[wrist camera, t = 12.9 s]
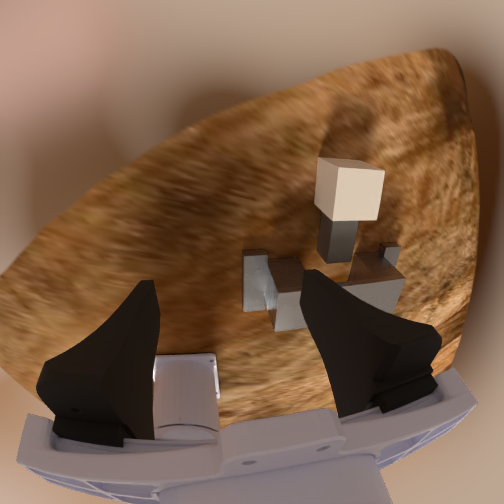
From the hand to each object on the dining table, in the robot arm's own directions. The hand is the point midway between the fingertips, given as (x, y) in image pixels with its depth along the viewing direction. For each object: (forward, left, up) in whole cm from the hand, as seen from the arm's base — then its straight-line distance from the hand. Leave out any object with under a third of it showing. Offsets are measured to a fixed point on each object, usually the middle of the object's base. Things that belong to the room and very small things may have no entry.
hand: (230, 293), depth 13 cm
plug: (0, -10, -10) cm, 14 cm away
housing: (-6, -10, -10) cm, 16 cm away
